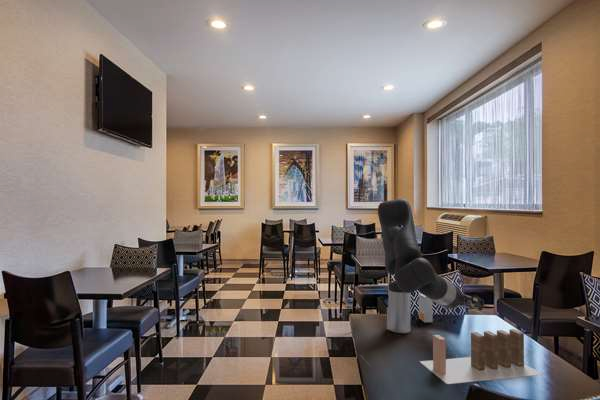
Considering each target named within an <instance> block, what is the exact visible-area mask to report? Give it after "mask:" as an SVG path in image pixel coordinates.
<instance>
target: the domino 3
mask: <svg viewBox="0 0 600 400" xmlns="http://www.w3.org/2000/svg"><path fill="white" fill-rule="evenodd" d="M496 335H498V364H500V365H501V366H503V367H505V368H511V334H510V332H507V331H504V330H502V329H499V330H497V329H496Z"/></svg>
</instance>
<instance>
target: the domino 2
mask: <svg viewBox="0 0 600 400" xmlns="http://www.w3.org/2000/svg"><path fill="white" fill-rule="evenodd" d="M483 336H484V354H485V365H486V366H488V367H490V368H491V369H498V335H497V333H494V332H493V331H490V330H487V331H486V330H485V331H483Z"/></svg>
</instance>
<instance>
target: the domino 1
mask: <svg viewBox="0 0 600 400" xmlns="http://www.w3.org/2000/svg"><path fill="white" fill-rule="evenodd" d="M470 357H471V366H473V367H474V368H476V369H477V370H479V371H481V370H485V354H484V334H481V333H480V332H477V331H473V332H472V331H471V332H470Z"/></svg>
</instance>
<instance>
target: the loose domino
mask: <svg viewBox="0 0 600 400" xmlns="http://www.w3.org/2000/svg"><path fill="white" fill-rule="evenodd" d="M446 344H447V341H446V338H445V337H443V336H442V335H440V334H432V360H433V369H434V370H435V371H436V372H438V373H439V374H446V359H447V358H446V357H447V352H446V351H447V349H446V348H447V345H446Z"/></svg>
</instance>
